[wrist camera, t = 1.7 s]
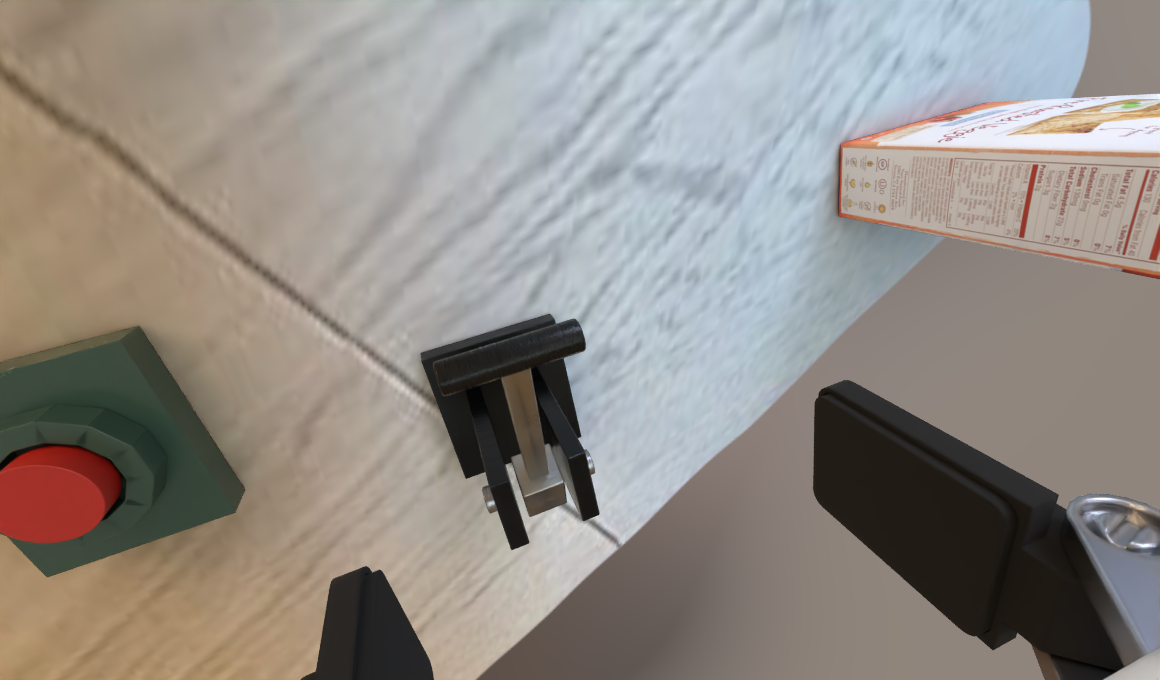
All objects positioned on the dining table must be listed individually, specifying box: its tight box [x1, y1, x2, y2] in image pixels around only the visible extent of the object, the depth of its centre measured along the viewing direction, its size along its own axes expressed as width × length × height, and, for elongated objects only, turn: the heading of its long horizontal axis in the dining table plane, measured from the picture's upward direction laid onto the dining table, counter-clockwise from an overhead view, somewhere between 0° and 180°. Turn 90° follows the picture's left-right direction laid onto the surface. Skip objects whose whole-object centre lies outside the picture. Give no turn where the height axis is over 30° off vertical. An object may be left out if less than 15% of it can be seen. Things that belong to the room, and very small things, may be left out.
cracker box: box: [839, 94, 1160, 279], centre depth 30 cm, size 14×6×21 cm, turn 102°
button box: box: [0, 326, 245, 577], centre depth 27 cm, size 12×10×4 cm
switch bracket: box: [421, 314, 599, 550], centre depth 31 cm, size 10×9×12 cm
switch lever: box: [433, 319, 586, 517], centre depth 23 cm, size 13×6×2 cm, turn 11°
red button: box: [0, 445, 122, 543], centre depth 25 cm, size 5×5×2 cm
